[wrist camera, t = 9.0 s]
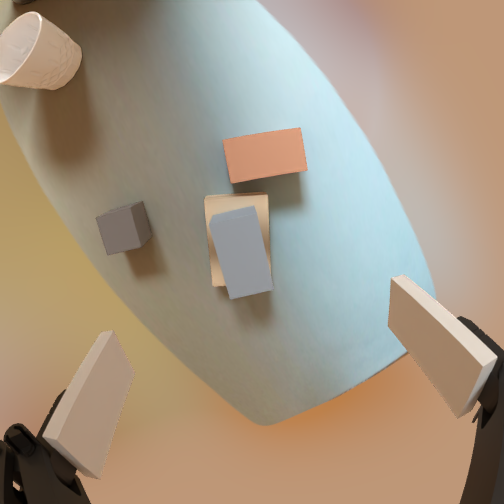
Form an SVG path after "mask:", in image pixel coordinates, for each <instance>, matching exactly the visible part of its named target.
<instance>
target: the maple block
mask: <svg viewBox="0 0 504 504" xmlns="http://www.w3.org/2000/svg"><path fill="white" fill-rule="evenodd" d="M204 205H205V216H206V227H207V237H208V247H209V257H210V266H211V274H212V283H213V287H214V286H226V284H225V280H224V277H223V273H222V270H221V267H220V263H219V260H218V256H217V253H216V249H215V246H214V242H213V238H212V235H211V231H210V228H209V223H210V221H211V218H212V216H213V215H216V214H220V213H224V212H228V211H232V210H236V209H240V208H244V207H249V206H253V205H254V207H255V209H256V212H257V216H258V220H259V225H260V229H261V233H262V238H263V242H264V247H265V251H266V255H267V260H268V264H269V269H270V273H271V266H270V237H269V211H268V194H267V193H266V192H252V193H236V194H222V195H209V196H206V197H205V198H204Z"/></svg>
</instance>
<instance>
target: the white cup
mask: <svg viewBox="0 0 504 504" xmlns="http://www.w3.org/2000/svg"><path fill="white" fill-rule="evenodd" d="M81 59H82V52H81V47H80V46H79V45H78V44H77V43H76V42H75V41H73V40H72V39H71V38H70V37H69V36H68V35H67V34H66V33H65V32H63V31H62V30H61V29H59V28H58V27H57V26H56V25H54V24H53V23H51V22H50V21H49V20H47V19H46V18H44V17H43V16H41V15H40V14H39V13H37V12H28V13H25V14H23V15H21V16H19V17H18V18H17V19H15V20H14V21H13V22H12V23H11V24H10V25H9V26H8V27H7V28H6V29H5V30H4V32H3V33H2V34H1V36H0V84H4V85H12V86H19V87H27V88H35V89H39V88H42V89H48V90H56V89H58V88H60V87H63V86H64V85H65V84H66V83H68V82H69V81H70V80H71V79H72V78H73V76H74V75H75V73H76V71H77V70H78V68H79V66H80V62H81Z"/></svg>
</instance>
